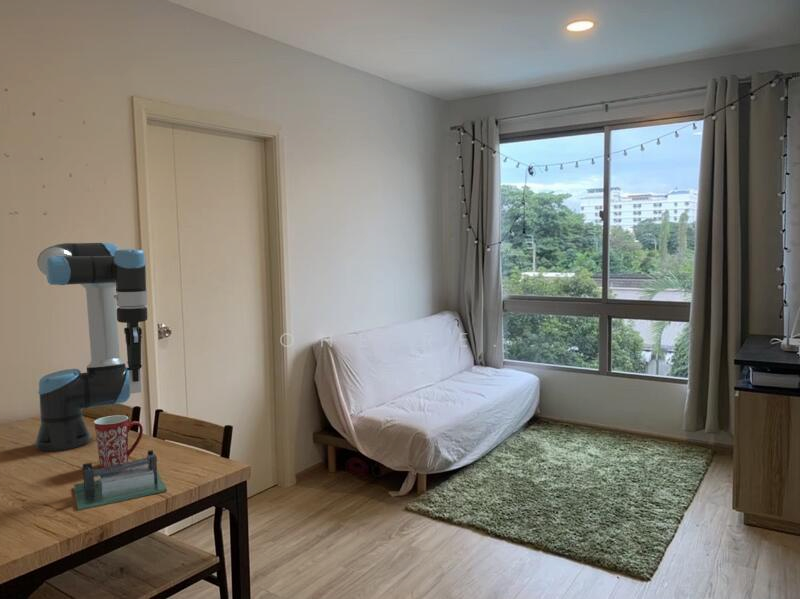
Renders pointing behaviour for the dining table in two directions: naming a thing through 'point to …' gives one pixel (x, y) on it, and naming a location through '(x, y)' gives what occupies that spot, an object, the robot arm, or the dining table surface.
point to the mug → (114, 439)
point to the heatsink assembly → (118, 485)
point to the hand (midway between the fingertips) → (135, 392)
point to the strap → (123, 466)
